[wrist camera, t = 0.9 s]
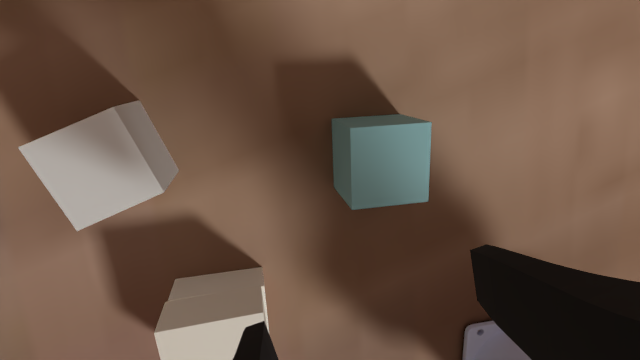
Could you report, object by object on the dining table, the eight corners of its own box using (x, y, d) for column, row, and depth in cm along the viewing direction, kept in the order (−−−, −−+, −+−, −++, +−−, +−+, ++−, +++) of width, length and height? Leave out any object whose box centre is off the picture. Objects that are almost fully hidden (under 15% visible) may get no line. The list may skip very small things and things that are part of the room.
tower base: (262, 264, 23) (264, 285, 20) (269, 333, 24) (272, 361, 22) (176, 276, 22) (167, 299, 20) (188, 347, 23) (182, 377, 21)
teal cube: (399, 113, 22) (431, 122, 18) (397, 180, 23) (428, 201, 19) (331, 118, 21) (350, 128, 17) (333, 186, 22) (351, 209, 18)
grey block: (139, 100, 19) (113, 106, 15) (179, 169, 20) (163, 192, 16) (64, 132, 19) (17, 147, 15) (108, 201, 20) (77, 231, 16)
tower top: (260, 285, 20) (263, 312, 18) (272, 360, 22) (275, 395, 19) (165, 301, 20) (154, 333, 17) (182, 379, 21) (174, 417, 19)
